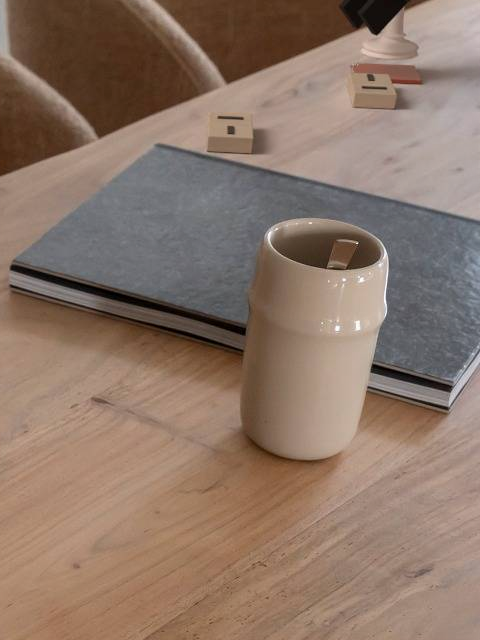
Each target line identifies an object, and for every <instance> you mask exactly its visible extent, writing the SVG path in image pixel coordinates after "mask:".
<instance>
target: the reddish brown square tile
mask: <svg viewBox="0 0 480 640" xmlns="http://www.w3.org/2000/svg"><path fill="white" fill-rule="evenodd" d="M356 63H357V64H358V63H359V62H356ZM360 63H361V64H359V65H358V66H357V64H356V65H354V66H352V67H353V71H354V73H368V74H388V75H389V76H390V79H391V81H392V84H412V85H421V84H422V79H421V77H420V75H419V72H418V71H417V68H416V66H415V65H413V64H392V63H391V64H389V63H365V62H360ZM362 63H364V64H362Z"/></svg>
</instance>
